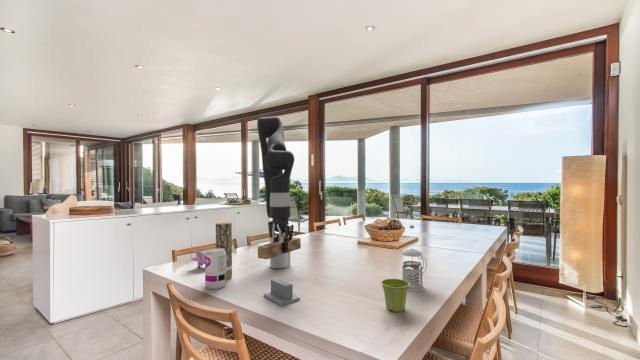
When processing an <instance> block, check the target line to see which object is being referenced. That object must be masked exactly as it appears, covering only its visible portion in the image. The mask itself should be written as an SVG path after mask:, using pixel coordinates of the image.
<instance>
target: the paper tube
mask: <svg viewBox="0 0 640 360" xmlns="http://www.w3.org/2000/svg"><path fill="white" fill-rule="evenodd" d="M232 222H233V221H230V220H222V221H221V220H219V221H216V222H215V248H223V249H225V252H226V281H227V280H231V279H232V277H233V233H232V232H233V229H232V226H233V225H232V224H233V223H232Z"/></svg>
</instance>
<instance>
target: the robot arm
mask: <svg viewBox="0 0 640 360" xmlns="http://www.w3.org/2000/svg"><path fill="white" fill-rule="evenodd" d="M256 122H257V123H256V125H257V134H258V139H259V145H260V151H261V161H262V162H261V163H262V174H263V180H264V181H263V182H264V187H265V188H264V189H265V203H266V204H265V205H266V215H267V217H268V218H269V219H272V221H268V222H267V224H268V225H267V226H268V234H269V243H273V242H276V241H280V240H282V253H285V254H282V255H279V256H276V257H273V258H270V259H269V261H270V262H269V264H270V265H269V266H270V268H271V269H286V268H288V267H290V266H291V252H288V242H289V241H292V237H293V234H294V224H289V219H290V218H291V211H292V210H291V194H290V193H291V192H290V188H291V185H290V184H291V183H290V182H291V175H292V171H293V167H294V163H295V155H294V154H293V152H292V151H290V150H287V147H286V144H285V139H284V138H285V136H284V133H285V132H284V125H283V121H282V119H281V118H280V117H279V116H267V117H266V116H265V117H259V118H258V119H257V121H256ZM267 139H268V140H267ZM286 252H288V253H286Z"/></svg>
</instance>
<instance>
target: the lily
mask: <svg viewBox="0 0 640 360" xmlns="http://www.w3.org/2000/svg"><path fill="white" fill-rule="evenodd" d="M205 253H206V252H204V253H203V252H202V251H200V250H197V249H194V254H195V257H193V258H190V259H189V260H190V261H195V262H197V267H198V266H200V267H203V266H204V265H205ZM201 272H203V269H201Z"/></svg>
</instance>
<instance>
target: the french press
mask: <svg viewBox="0 0 640 360" xmlns="http://www.w3.org/2000/svg"><path fill="white" fill-rule="evenodd" d="M409 229H415V225H413V224H411V225H409ZM401 254H402V256H405V257H411V258H416V257H417V258H418V259H419V260H420V258H421V260H422V261H423V262H422V263H423V265H422V263H421V262H420V261H416V260H415V261H414V260H405V261H403V262H402V264H403V265H402V266H401V272H402V274H401V275H402V276H401V278H402V279H401V280H405V281H407V282H409V283H410V285H409V286H408V290H407V292H423V291H425V289H426V287H425V286H424V285H423V274H424V273H425V272H426V270H427V267H428V262H427V260H426V257H424V255H423V254H424V253H423V252H421V251H420V250H418V249H414V248H409V249H408V248H407V249H405V250H402V252H401ZM419 257H420V258H419ZM424 267H425V268H424ZM423 269H424V271H423Z"/></svg>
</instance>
